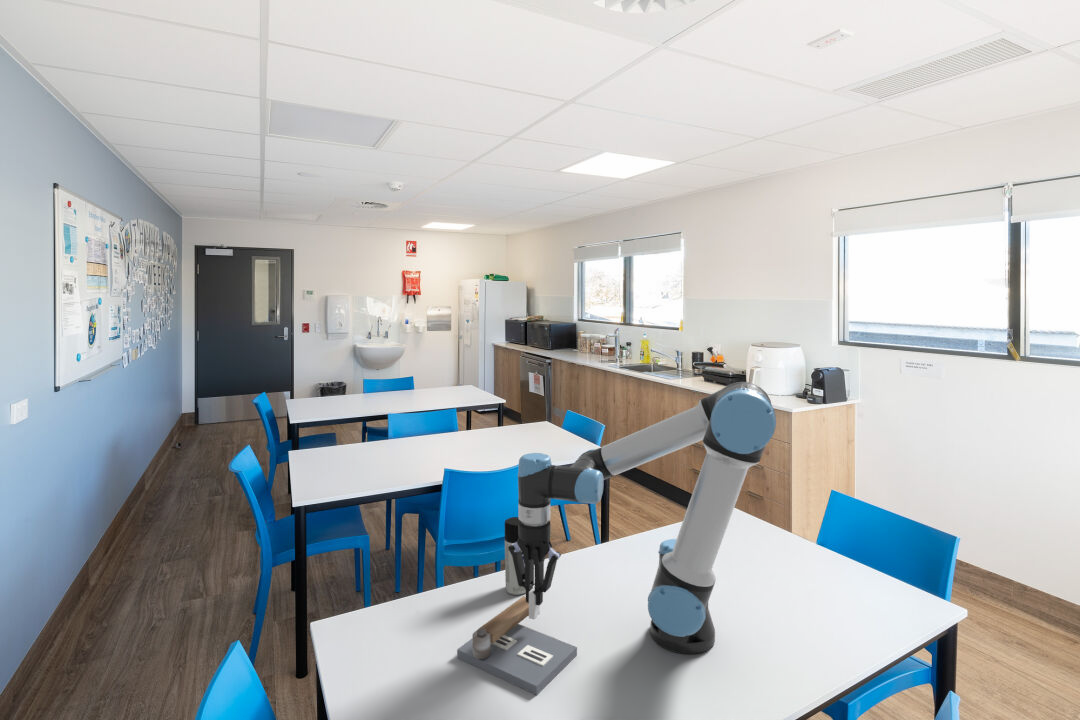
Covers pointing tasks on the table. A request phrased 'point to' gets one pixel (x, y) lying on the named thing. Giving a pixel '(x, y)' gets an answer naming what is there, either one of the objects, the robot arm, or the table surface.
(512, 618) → the swing bar
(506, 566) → the spray can
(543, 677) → the label board
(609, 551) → the table surface
